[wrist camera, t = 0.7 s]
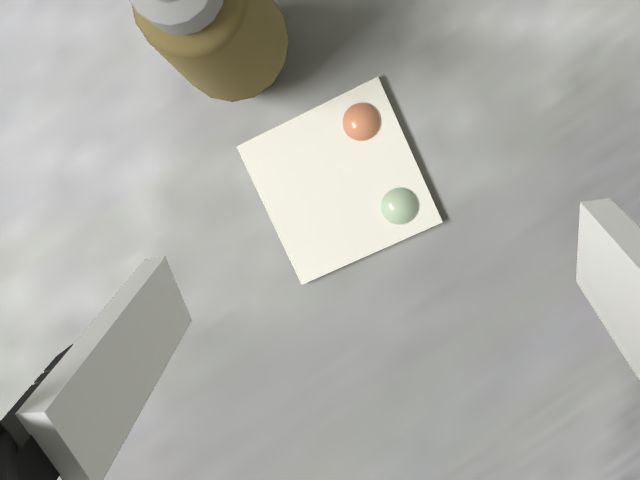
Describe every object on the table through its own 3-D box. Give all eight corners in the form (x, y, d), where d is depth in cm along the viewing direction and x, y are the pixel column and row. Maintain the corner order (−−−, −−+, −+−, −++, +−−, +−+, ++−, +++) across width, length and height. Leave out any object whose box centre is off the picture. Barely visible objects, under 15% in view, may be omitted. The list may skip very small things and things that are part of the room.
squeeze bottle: (318, 54, 36) (272, -73, 18) (245, 131, 37) (136, 82, 19) (243, -22, 36) (124, -227, 18) (173, 58, 37) (-5, -61, 19)
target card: (238, 147, 37) (236, 146, 36) (377, 78, 36) (377, 75, 35) (302, 283, 38) (301, 285, 37) (441, 221, 36) (443, 222, 36)
